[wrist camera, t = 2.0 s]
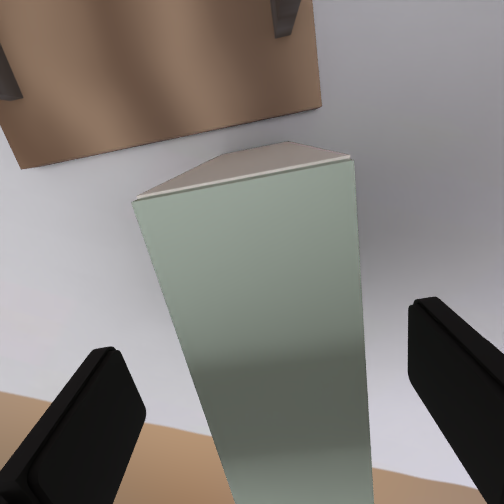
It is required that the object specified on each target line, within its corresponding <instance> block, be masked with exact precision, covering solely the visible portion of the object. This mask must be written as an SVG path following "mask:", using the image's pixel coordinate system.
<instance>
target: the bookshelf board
mask: <svg viewBox="0 0 504 504" xmlns="http://www.w3.org/2000/svg"><path fill="white" fill-rule="evenodd" d="M321 106H322V102H321V91H320V80H319V69H318V58H317V47H316V36H315V25H314V15H313V4H312V0H0V125H1V128H2V130H3V132H4V134H5V136H6V138H7V140H8V143H9V145H10V147H11V149H12V151H13V153H14V155H15V158H16V160H17V162H18V164H19V166H20V168H21V169H28V168H35V167H41V166H45V165H50V164H55V163H60V162H65V161H69V160H74V159H79V158H84V157H88V156H93V155H98V154H103V153H107V152H112V151H117V150H122V149H127V148H131V147H136V146H141V145H146V144H150V143H155V142H160V141H165V140H169V139H174V138H179V137H184V136H189V135H193V134H198V133H203V132H208V131H212V130H217V129H222V128H227V127H231V126H236V125H241V124H246V123H251V122H255V121H260V120H265V119H270V118H274V117H279V116H284V115H289V114H293V113H298V112H303V111H308V110H313V109H317V108H319V107H321Z"/></svg>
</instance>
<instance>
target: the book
mask: <svg viewBox="0 0 504 504" xmlns="http://www.w3.org/2000/svg"><path fill="white" fill-rule="evenodd" d="M131 203H132V206H133V209H134V212H135V215H136V218H137V221H138V223H139V226H140V229H141V232H142V235H143V238H144V241H145V244H146V247H147V249H148V252H149V255H150V258H151V261H152V264H153V267H154V270H155V273H156V275H157V278H158V281H159V284H160V287H161V290H162V293H163V296H164V299H165V301H166V304H167V307H168V310H169V313H170V316H171V319H172V322H173V325H174V327H175V330H176V333H177V336H178V339H179V342H180V345H181V348H182V351H183V353H184V356H185V359H186V362H187V365H188V368H189V371H190V374H191V377H192V379H193V382H194V385H195V388H196V391H197V394H198V397H199V400H200V403H201V405H202V408H203V411H204V414H205V417H206V420H207V423H208V426H209V429H210V431H211V434H212V437H213V440H214V443H215V446H216V449H217V452H218V455H219V457H220V460H221V463H222V466H223V469H224V472H225V475H226V478H227V481H228V483H229V486H230V489H231V492H232V495H233V498H234V501H235V503H236V504H374V497H373V482H372V481H373V479H372V462H371V445H370V428H369V411H368V393H367V376H366V359H365V342H364V325H363V307H362V290H361V273H360V256H359V239H358V222H357V204H356V187H355V170H354V160H352V159H350V155H348V154H343V153H339V152H334V151H330V150H325V149H321V148H316V147H312V146H307V145H303V144H299V143H294V142H290V141H286V142H281V143H276V144H271V145H266V146H261V147H256V148H251V149H246V150H242V151H237V152H232V153H227V154H222V155H220V156H218V157H216V158H214V159H212V160H209V161H207V162H205V163H203V164H201V165H199V166H197V167H195V168H193V169H191V170H189V171H187V172H185V173H183V174H181V175H179V176H177V177H175V178H173V179H170V180H168V181H166V182H164V183H162V184H160V185H158V186H156V187H154V188H152V189H150V190H148V191H146V192H144V193H142V194H140V195H138V196H137V200H135V201H133V202H131Z"/></svg>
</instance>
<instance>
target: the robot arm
mask: <svg viewBox="0 0 504 504" xmlns="http://www.w3.org/2000/svg"><path fill="white" fill-rule="evenodd" d="M408 376H409V380H410V382H411V384H412V386H413V387H414V389H415V390H416V392H417V394H418V395H419V397H420V398H421V400H422V402H423V403H424V405H425V406H426V408H427V409H428V411H429V413H430V414H431V416H432V417H433V419H434V420H435V422H436V424H437V425H438V427H439V428H440V430H441V431H442V433H443V435H444V436H445V438H446V439H447V441H448V443H449V444H450V446H451V447H452V449H453V450H454V452H455V454H456V455H457V457H458V458H459V460H460V461H461V463H462V465H463V466H464V468H465V469H466V471H467V473H468V474H469V476H470V477H471V479H472V480H473V482H474V484H475V485H476V487H477V488H478V490H479V491H480V493H481V494H482V496H483V498H484V499H485V501H486V502H487V504H504V354H503V353H502V352H501V351H500V350H498V349H497V348H496V347H495V346H494V345H493V344H492V343H490V342H489V341H488V340H486V339H485V338H483V337H482V336H481V335H480V334H479V333H478V332H477V331H475V330H474V329H473V328H472V327H471V326H470V325H469V324H468V323H466V322H465V321H464V320H463V319H462V318H461V317H460V316H458V315H457V314H456V313H455V312H454V311H453V310H452V309H450V308H449V307H448V306H447V305H446V304H445V303H444V302H442V301H441V300H440V299H439V298H437V297H428V298H422V299H416V300H415V301H414V303H413V305H410V306H409V308H408ZM145 418H146V408H145V406H144V403H143V401H142V399H141V397H140V394H139V392H138V390H137V388H136V385H135V383H134V381H133V379H132V377H131V374H130V372H129V370H128V368H127V365H126V363H125V361H124V359H123V356H122V354H121V352H120V351H119V350H116V349H115V348H114V347H104V348H98V349H94V350H92V351H91V352H90V354H89V355H88V356H87V358H86V359H85V360H84V362H83V363H82V364H81V366H80V367H79V368H78V370H77V371H76V372H75V373H74V375H73V376H72V377H71V379H70V380H69V381H68V383H67V384H66V385H65V387H64V388H63V389H62V391H61V392H60V393H59V395H58V396H57V397H56V398H55V400H54V401H53V402H52V404H51V405H50V406H49V408H48V409H47V410H46V412H45V413H44V414H43V416H42V417H41V418H40V420H39V421H38V422H37V424H36V425H35V426H34V427H33V429H32V430H31V431H30V433H29V434H28V435H27V437H26V438H25V439H24V441H23V442H22V443H21V445H20V446H19V448H18V449H17V450H16V451H15V452H14V454H13V455H12V456H11V458H10V459H9V460H8V462H7V463H6V464H5V466H4V467H3V468H2V470H1V471H0V504H113V502H114V499H115V497H116V494H117V491H118V489H119V486H120V484H121V481H122V478H123V476H124V473H125V471H126V468H127V465H128V463H129V460H130V457H131V455H132V452H133V450H134V447H135V444H136V442H137V439H138V437H139V434H140V432H141V429H142V426H143V424H144V421H145Z"/></svg>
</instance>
